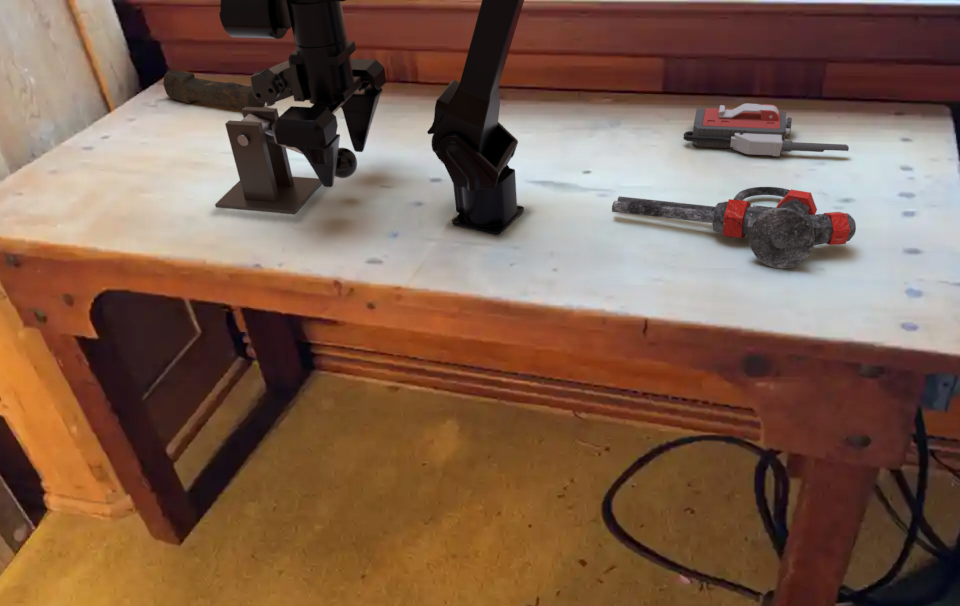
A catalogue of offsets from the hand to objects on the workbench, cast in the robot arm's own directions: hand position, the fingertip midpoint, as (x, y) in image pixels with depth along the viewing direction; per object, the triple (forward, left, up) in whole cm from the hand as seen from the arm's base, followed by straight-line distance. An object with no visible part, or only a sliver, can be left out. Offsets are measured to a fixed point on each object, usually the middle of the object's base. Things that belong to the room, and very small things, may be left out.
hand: (344, 168), depth 108 cm
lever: (+6, +1, +1) cm, 6 cm away
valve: (-43, -14, -5) cm, 46 cm away
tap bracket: (+11, +3, -5) cm, 12 cm away
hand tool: (+41, -17, -5) cm, 45 cm away
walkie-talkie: (-40, -35, -5) cm, 54 cm away
